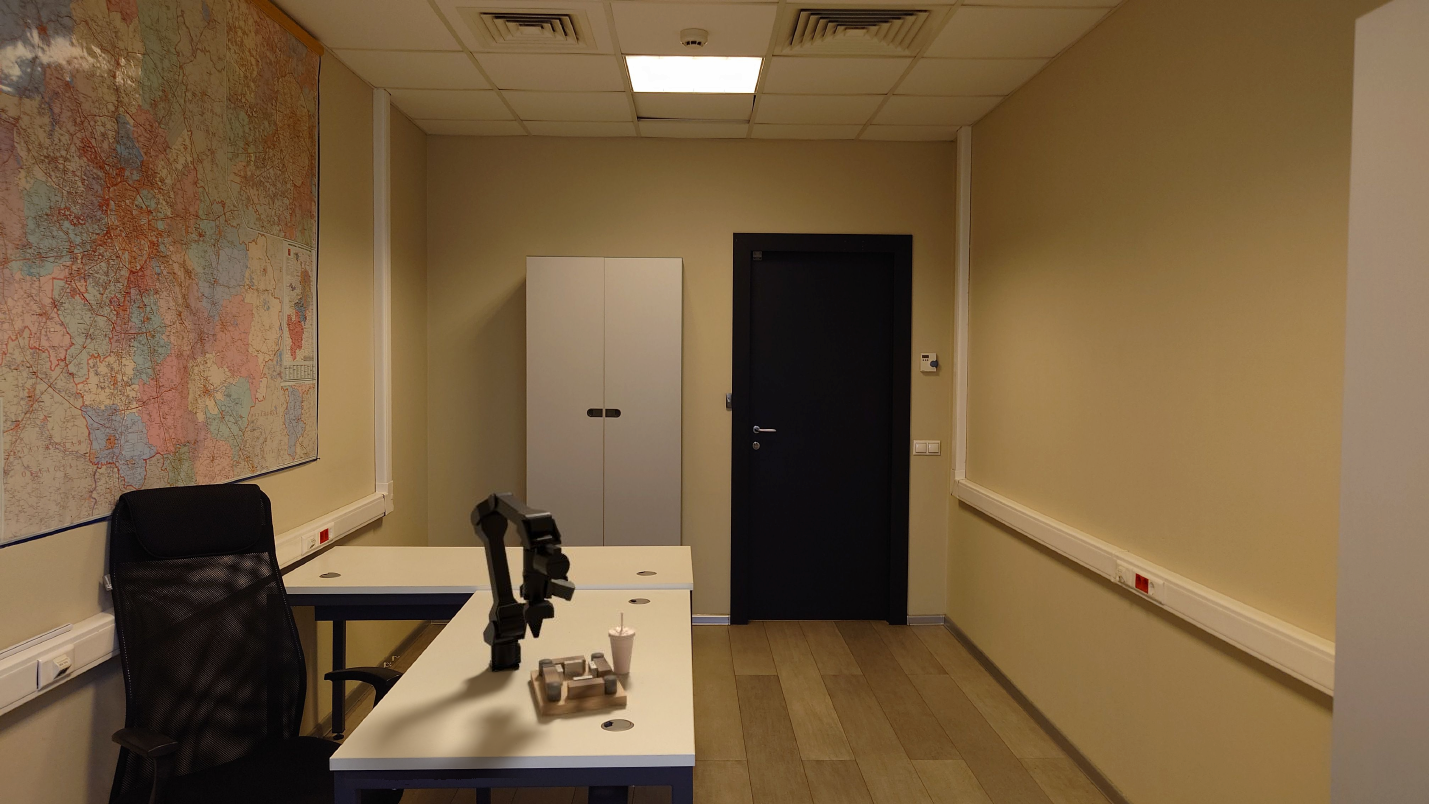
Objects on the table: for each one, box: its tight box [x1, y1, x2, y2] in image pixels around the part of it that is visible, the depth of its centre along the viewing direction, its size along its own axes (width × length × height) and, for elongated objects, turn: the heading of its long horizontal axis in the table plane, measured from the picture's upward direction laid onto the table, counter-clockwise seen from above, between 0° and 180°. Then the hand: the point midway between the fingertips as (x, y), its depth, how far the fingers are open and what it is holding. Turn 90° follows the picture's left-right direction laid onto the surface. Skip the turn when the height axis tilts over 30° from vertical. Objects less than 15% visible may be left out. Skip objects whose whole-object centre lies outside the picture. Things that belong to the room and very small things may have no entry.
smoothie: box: [607, 611, 636, 675], centre depth 186 cm, size 6×6×14 cm
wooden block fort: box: [530, 651, 628, 718], centre depth 175 cm, size 18×20×5 cm
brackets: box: [556, 660, 597, 685], centre depth 175 cm, size 9×11×3 cm
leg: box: [542, 663, 561, 701], centre depth 171 cm, size 13×3×3 cm, turn 17°
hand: (536, 637), depth 175 cm, fingers closed
